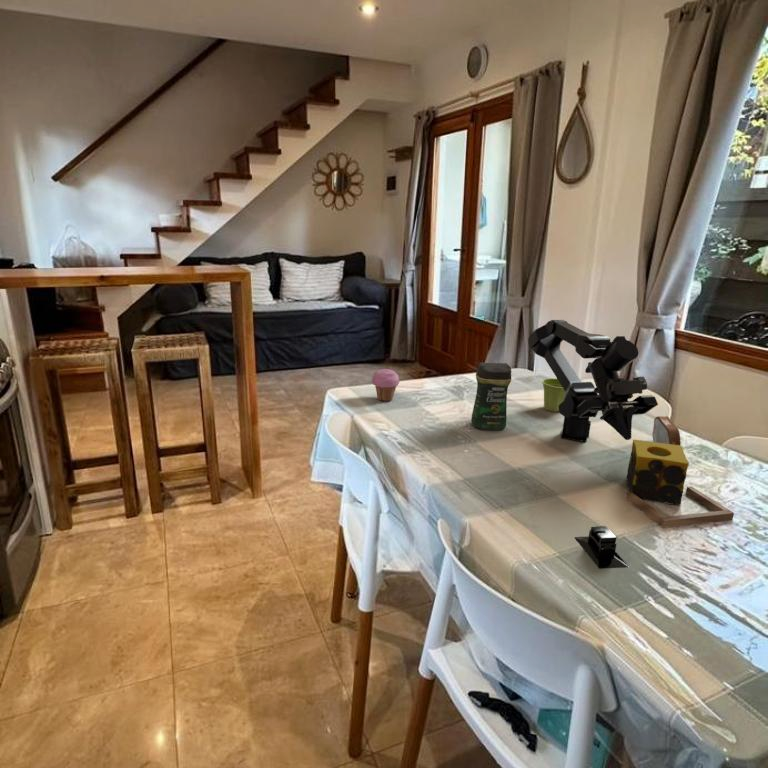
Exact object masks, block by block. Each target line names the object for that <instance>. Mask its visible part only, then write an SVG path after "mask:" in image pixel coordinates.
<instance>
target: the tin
mask: <svg viewBox="0 0 768 768" xmlns="http://www.w3.org/2000/svg"><path fill="white" fill-rule="evenodd" d="M652 442H657V443H665V444H672V445H681V433H680V430H679V428H678V426H677V425H676V424H675V423H674V422H673V421H672V419H671V418H670V417H669V416H667V415H666V416H660V415H657V416H656V417H655V418H654V420H653V428H652ZM681 446H682V445H681Z"/></svg>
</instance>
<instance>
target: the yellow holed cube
mask: <svg viewBox="0 0 768 768" xmlns="http://www.w3.org/2000/svg"><path fill="white" fill-rule="evenodd" d="M689 464H690V462H689V460H688V459H687V457H686V454H685V451H684V448H683V446H682V445H672V444H665V443H657V442H654V441H649V440H643V439H632V446H631V452H630V457H629V461H628V466H627V475H626V482H627V487H628V492H632V493H634V494H635V495H636V496H638V497H639V498H640V499H642V500H647V501H650V500H652V502H657V503H664V504H668V505H674V506H680V505H681V504H682V498H683V493H684V487H685V486H684V485H685V481H686V479H687V473H688V467H689Z"/></svg>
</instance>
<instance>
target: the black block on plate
mask: <svg viewBox="0 0 768 768" xmlns="http://www.w3.org/2000/svg"><path fill="white" fill-rule="evenodd" d="M573 538H574V539H575V541H576V542H577V543H578V544H579V546H581V549H583V551H584V552H585V553H586V555H587V556H588V557H589V558H590V559H591V561H592V562H593V563H594V564H595V566H596V567H597V569H600V570H602V569H603V570H604V569H623V568H630V566H629V565H628V563H627V562H626V561H625V560H624V559H623V558H622V557H621V556H620V555H619V554H618V552H616V549H617V544H618V543H617V538H618V537H617V536H616V535H615V534H614V533H613V532H612V531H611V530H610V529H609V528H608V527H607V526H606V525H602V526H599V525H598V526H591V527H590V530H589V534H588V536H575V537H573Z"/></svg>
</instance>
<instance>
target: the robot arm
mask: <svg viewBox="0 0 768 768" xmlns="http://www.w3.org/2000/svg"><path fill="white" fill-rule="evenodd" d="M527 339H528V340H527V342H528V345H529V348H530V349H531V350H532V351H533V353H534V354H536V355H537V356H539V357H541V358H543V359H544V360H545V361H546V363H547V365H548V366H549V368H550V370H551V371H552V373H554V376H555V377H556V379H558V381H559V382H560V384H561V385H562V387H563V389H564V390H565V397H564V401H563V402H562V403H561V404H560V405H559V411H558V414H560V415H561V416H563V424H562V429H561V434H560V438H561V439H565V440H566V439H567V440H573V441H578V442H583V443H586V442H587V439H589V437H590V429H591V423H592V421H591V420H590V418H596V417H597V415H598V414H599V411H600V412H601V413H602V415H601V416H600V417H599V420H602V421H604V422H605V423H607V425H609V426H610V427H612V428H613V430H615V431H616V432H617V433H618V434H619V435H620V436H621V437H622V438H623V439H624V440H626V441H629V440H631V439H632V424H633V416H637V415H644V414H647V413H648V412H649V411H651V410H653V409H654V408H655V407H657V406H658V405H659V403H658V401H657V398H656V397H655V396H654V395H652V394H651V395H650V394H648V395H639V394H643V391H645V390H647V389H648V382H647V380H646V378H645V376H636V377H633V379H630V380H629V379H627V380H626V379H624V378H623V377H622V378H621V377H620V376H619V372H621V371H622V370H624V369H625V368H626V367H627V366H629V365H630V364H631V363H632V362H633V361H635V359H637V357H638V356H639V350H638V347H637V346H636V345H635V344H634V343H633V342H631V341H630V340H628V339H627V338H626V336H625V335H616V337H614V338H613V340H612V341H611V338H610V337H609V336H608V335H604V334H598V333H597V334H596V333H589V332H587V331H585V330H583V329H581V328H579V327H576V326H575V325H573V324H571V323H569V322H568V321H567V320H564V319H551V320H548V321H547V322H546V323H545V324H544V325H542V326H539V327H538V328H536V329H534V330H533V332H532V333H531V334H530V335H529V336H528V338H527ZM563 341H564V342H566V343H568V344H570V345H571V346H573V347H574V349H575V352H576V353H577V355H578V356H580V357H581V358H582V359H587V360H588V359H594V360H593V361H591V362H590V361H589V362H588V363H587V366H586V367H585V372H584V373H586V374H591V375H592V379H593V381H594V383H592V381H582V380H581V379H580V377H579V376H578V375H577V373H576V372H575V370H574V369H573V367H572V365H571V364H570V362H569V361H568V360H567V358H566V357H565V355H564V354H563V352H562V350H561V343H562V342H563ZM636 394H638V396H637V397H636V398H634V399H633V400H629V399H632V398H633V397H634V395H636Z"/></svg>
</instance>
